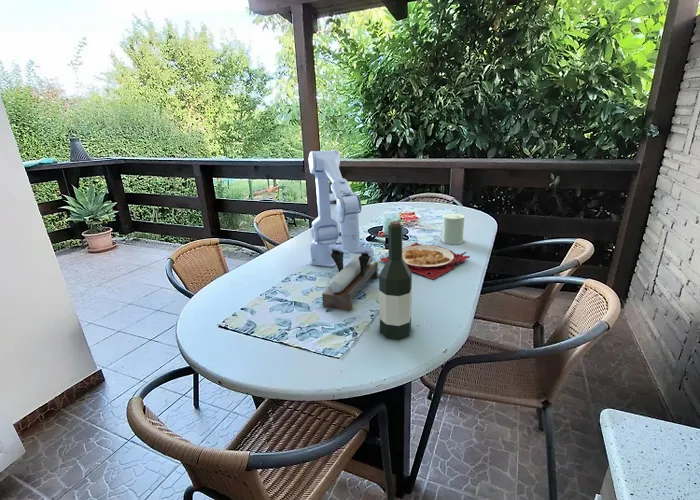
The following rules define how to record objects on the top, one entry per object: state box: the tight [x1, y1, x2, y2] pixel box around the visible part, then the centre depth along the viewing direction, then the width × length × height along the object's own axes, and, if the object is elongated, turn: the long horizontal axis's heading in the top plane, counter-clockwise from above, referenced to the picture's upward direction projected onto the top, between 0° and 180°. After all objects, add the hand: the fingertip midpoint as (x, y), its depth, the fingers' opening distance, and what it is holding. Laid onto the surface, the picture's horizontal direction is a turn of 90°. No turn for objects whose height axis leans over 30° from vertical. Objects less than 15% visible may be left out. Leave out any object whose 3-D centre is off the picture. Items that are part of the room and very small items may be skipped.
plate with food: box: [379, 242, 471, 280], centre depth 142 cm, size 24×26×4 cm
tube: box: [328, 254, 373, 293], centre depth 119 cm, size 5×5×25 cm
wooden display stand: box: [321, 261, 379, 312], centre depth 120 cm, size 9×26×6 cm, turn 157°
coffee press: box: [329, 179, 342, 244], centre depth 162 cm, size 17×16×30 cm
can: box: [441, 212, 466, 245], centre depth 161 cm, size 9×9×12 cm
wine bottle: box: [378, 220, 413, 341], centre depth 92 cm, size 8×8×30 cm
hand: (351, 273), depth 119 cm, fingers open, 7 cm apart
